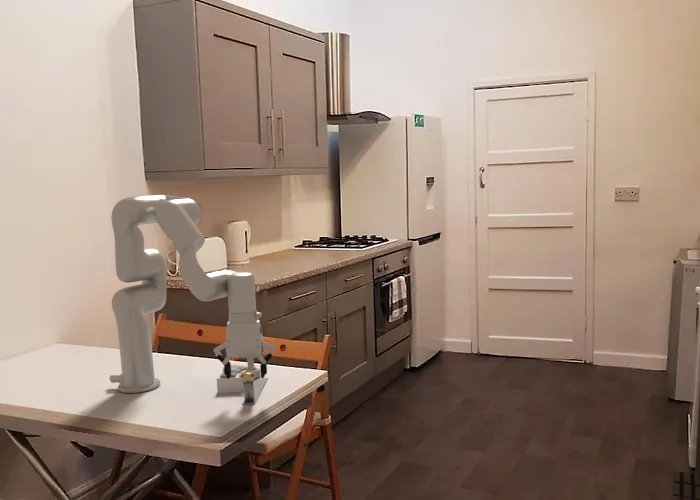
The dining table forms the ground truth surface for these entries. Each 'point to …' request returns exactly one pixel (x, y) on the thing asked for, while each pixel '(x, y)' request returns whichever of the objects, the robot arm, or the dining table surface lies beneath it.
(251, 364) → the electronic device
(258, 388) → the strip
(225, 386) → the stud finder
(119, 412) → the dining table surface
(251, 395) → the knob
